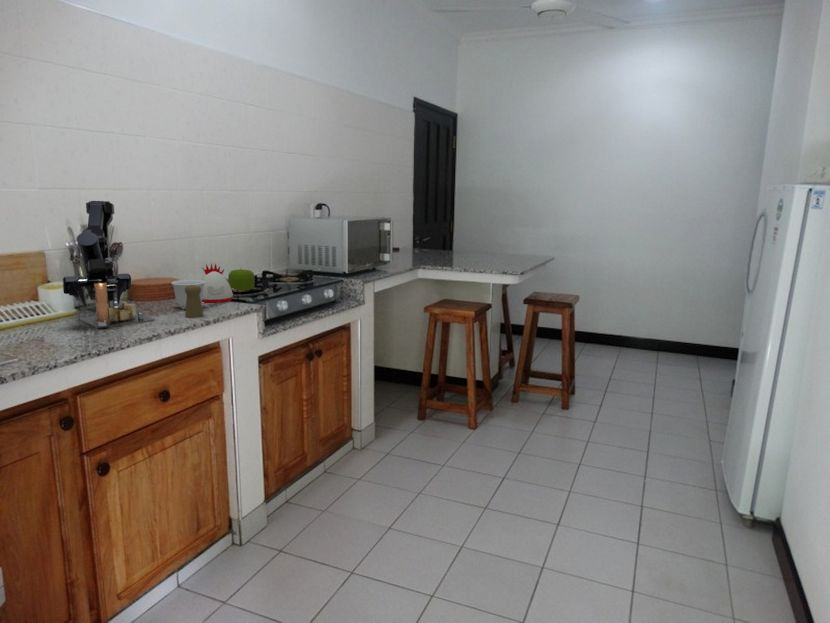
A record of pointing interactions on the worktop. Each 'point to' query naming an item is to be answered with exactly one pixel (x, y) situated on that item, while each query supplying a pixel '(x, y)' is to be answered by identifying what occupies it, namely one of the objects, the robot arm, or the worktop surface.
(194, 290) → the pepper mill
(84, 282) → the robot arm
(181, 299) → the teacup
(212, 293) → the kitchen timer
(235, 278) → the apple
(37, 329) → the worktop surface
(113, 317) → the copper cylinder with bracket
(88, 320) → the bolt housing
